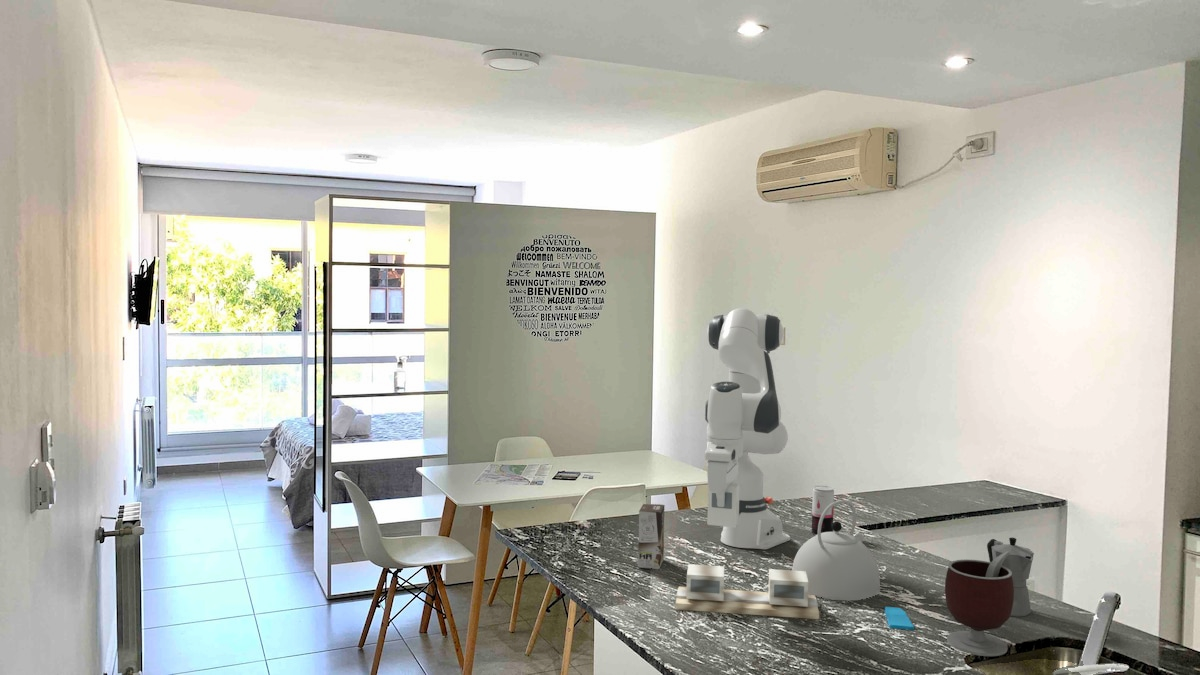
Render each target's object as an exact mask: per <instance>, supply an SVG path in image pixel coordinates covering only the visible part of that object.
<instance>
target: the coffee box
mask: <svg viewBox="0 0 1200 675" xmlns="http://www.w3.org/2000/svg"><path fill="white" fill-rule="evenodd" d="M637 549H638V550H637V552H638V555H637V568H639V569H642V568H643V569H651V568H652V569H653V570H660V569H661V567H662V564H663V562H664V561H665V560H664V559H665V504H656V503H655V504H654V503H653V504H652V503H651V504H650V503H649V504H647V503H643V504H642V506H641V507H640V509H639V510H638V547H637Z"/></svg>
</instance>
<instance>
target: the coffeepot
mask: <svg viewBox="0 0 1200 675" xmlns="http://www.w3.org/2000/svg"><path fill="white" fill-rule="evenodd" d="M1008 539H1009V540H1008V541H1009V544H1008V543H1004V542H1002V541H999V540H996V539H994V538H992V539H990V540H989V541H988V542H987V544H986V549H987V553H988V559H989V560H988V561H989V562H992V561H993V560H994V559H995V558H996V557H998V556H1000V555H1001V554H1003V553H1005V552H1007V551H1008V552H1009V553H1010V555H1007V557H1006V558H1005V559H1004V561H1003V563H1002V566H1004V567H1006V568H1008V569H1009V570H1011V572H1012V579H1013V586H1014V601H1013V607H1012V612H1011V615H1010V617H1019V618H1020V617H1026V616H1029V615H1030V614H1031V613H1032V610H1031V602H1030V597H1029V596H1030V595H1029V588H1028V586H1027V580H1028V579H1029V578H1030V575H1031V574H1030V573H1031V569H1032V563H1033V560H1034V555H1035V553H1034V552H1033V551H1032V550H1031V549H1030V548H1027V547H1023V546H1019V545H1016V543H1017V538H1016V537H1009V538H1008Z"/></svg>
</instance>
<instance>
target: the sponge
mask: <svg viewBox="0 0 1200 675" xmlns="http://www.w3.org/2000/svg"><path fill="white" fill-rule="evenodd" d="M884 614H885V617H886V620H887V623H888V627H889V628H890V629H900V630H910V631H911V630H912V631H913V630H915V629H916V628H915V625H914V624H913V623H912V621H911V619H910V617H909V615H908V614H907V612H906V611H905V610H903V609H902V607H896V606H895V607H893V606H885V609H884Z"/></svg>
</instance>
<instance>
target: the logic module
mask: <svg viewBox="0 0 1200 675" xmlns="http://www.w3.org/2000/svg"><path fill="white" fill-rule="evenodd" d="M739 489H740V483H732V484H731V485H730V486H729V487H728V488H727V489H726V491H725V506H724V507H718V506H717V497H716V493H711V492H710V491H709V488H708V487H707V513H706V514H707V519H706V520H707V521H706V522H707V526H715V527H717V526H718V527H723V526H725V527H735V528H736V526H737V525H738V523H739Z"/></svg>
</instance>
